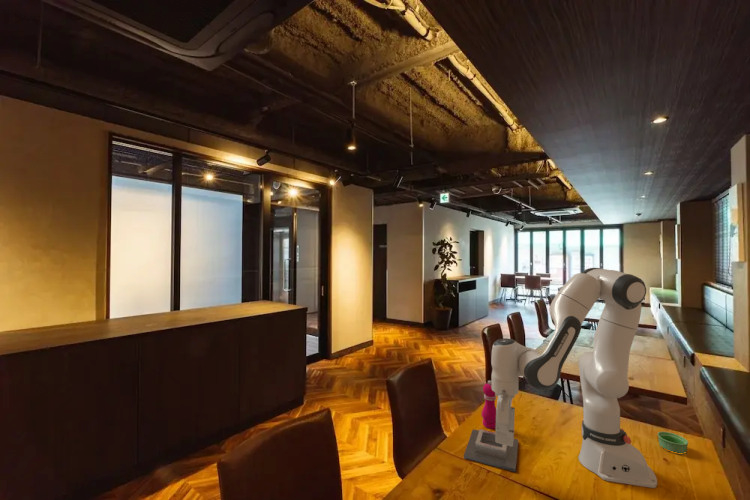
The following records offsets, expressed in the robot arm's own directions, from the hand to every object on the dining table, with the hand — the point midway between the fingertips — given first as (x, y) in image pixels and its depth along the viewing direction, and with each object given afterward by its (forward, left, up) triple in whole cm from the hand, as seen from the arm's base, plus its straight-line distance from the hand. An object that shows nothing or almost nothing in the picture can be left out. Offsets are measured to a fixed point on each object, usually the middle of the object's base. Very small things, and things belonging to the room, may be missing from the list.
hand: (505, 424), depth 116 cm
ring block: (+6, -12, -17) cm, 22 cm away
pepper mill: (+9, -31, -17) cm, 37 cm away
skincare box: (0, 0, -6) cm, 6 cm away
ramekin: (-58, -44, -17) cm, 75 cm away
